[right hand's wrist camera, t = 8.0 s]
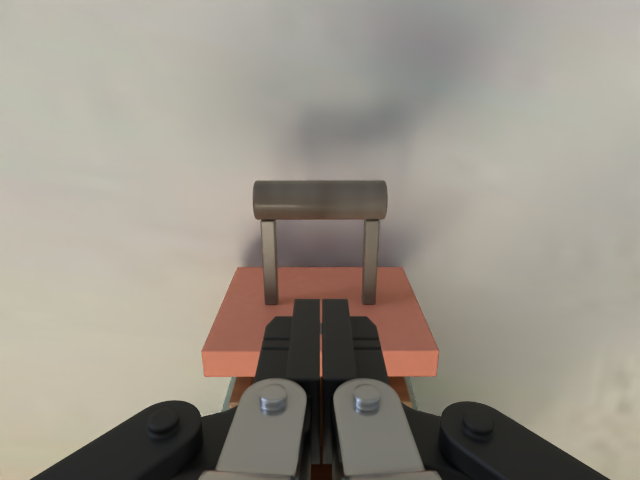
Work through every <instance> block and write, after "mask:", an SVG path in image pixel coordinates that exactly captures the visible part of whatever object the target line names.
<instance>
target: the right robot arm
mask: <svg viewBox="0 0 640 480" xmlns="http://www.w3.org/2000/svg"><path fill="white" fill-rule="evenodd" d="M322 413H323V464H332V480H610V479H608V478H607V477H605V476H603V475H602V474H600V473H599V472H597V471H595V470H594V469H592V468H590V467H589V466H587V465H586V464H584V463H582V462H581V461H579V460H577V459H576V458H574V457H572V456H571V455H569V454H568V453H566V452H564V451H563V450H561V449H559V448H558V447H556V446H555V445H553V444H551V443H550V442H548V441H546V440H545V439H543V438H542V437H540V436H538V435H537V434H535V433H533V432H532V431H530V430H528V429H527V428H525V427H524V426H522V425H520V424H519V423H517V422H515V421H514V420H512V419H511V418H509V417H507V416H506V415H504V414H502V413H501V412H499V411H497V410H496V409H494V408H492V407H490V406H487V405H484V404H481V403H476V402H468V401H467V402H457V403H454V404H451V405H450V406H448V407H447V408H446V409H445V410H444V411H443V412H442V415H441V417H440V416H436V415H432V414H428V413H424V412H420V411H417V410H415V409H412V408H410V407H408V406H406V405H405V404H403V403H402V402H401V401H400V398H399V396H398V394H397V393H396V391H395V390H394V389H393V388H392V387H390V384H389V379H388V375H387V370H386V366H385V362H384V357H383V353H382V350H381V344H380V340H379V335H378V331H377V326H376V325H375V324H374V323H373V322H372V321H371V320H370V319H369V318H368V317H367V316H350V313H349V305H348V299H322ZM311 464H320V299H294V308H293V316H275V317H274V318H273V319H272V320H271V321H270V322H269V324H268V325H267V326H266V328H265V332H264V337H263V342H262V346H261V351H260V355H259V360H258V365H257V369H256V374H255V378H254V383H253V385H251V386H250V387H248V388H247V389H246V390H245V391H244V393H243V394H242V396H241V398H240V401H239V404H238V405H237V406H235V407H233V408H231V409H229V410H226V411H223V412H220V413H216V414H212V415H208V416H204V417H201V415H200V412H199V411H198V409H197V408H196V407H195V406H194V405H192V404H190V403H188V402H184V401H175V400H174V401H165V402H161V403H157V404H154V405H152V406H150V407H148V408H146V409H144V410H142V411H141V412H139V413H138V414H136V415H134V416H133V417H131V418H129V419H128V420H126V421H125V422H123V423H121V424H120V425H118V426H116V427H115V428H113V429H112V430H110V431H108V432H107V433H105V434H103V435H102V436H100V437H99V438H97V439H95V440H94V441H92V442H90V443H89V444H87V445H85V446H84V447H82V448H81V449H79V450H77V451H76V452H74V453H72V454H71V455H69V456H68V457H66V458H64V459H63V460H61V461H59V462H58V463H56V464H55V465H53V466H51V467H50V468H48V469H46V470H45V471H43V472H41V473H40V474H38V475H37V476H35V477H33V478H32V479H30V480H311Z"/></svg>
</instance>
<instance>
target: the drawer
mask: <svg viewBox="0 0 640 480" xmlns="http://www.w3.org/2000/svg"><path fill="white" fill-rule="evenodd" d="M253 211H254V216H255V218H256V219H257V220H261V240H262V260H263V267H238V268H237V270H236V272H235V274H234V277H233V279H232V281H231V284H230V286H229V288H228V291H227V293H226V295H225V298H224V300H223V302H222V305H221V307H220V309H219V312H218V314H217V316H216V319H215V321H214V323H213V326H212V328H211V330H210V333H209V335H208V337H207V340H206V342H205V344H204V347H203V349H202V351H201V352H202V361H203V369H204V376H205V377H236V378H235V381H234V385H233V389H232V392H231V396H230V399H229V409H231V408H233V407H235V406H237V405H238V404H239V401H240V398H241V396H242V394H243V393H244V391H245V390H246V389H247V388H248V387H250V386H251V385H253V383H254V378H255V374H256V369H257V365H258V360H259V355H260V351H261V346H262V342H263V337H264V332H265V328H266V326H267V325H268V324H269V322H270V321H271V320H272V319H273V318H274V317H275V316H293V308H294V299H320V464H311V480H332V464H323V413H322V299H348V305H349V313H350V316H367V317H368V318H369V319H370V320H371V321H372V322H373V323H374V324H375V325H376V326H377V331H378V335H379V340H380V344H381V350H382V353H383V357H384V362H385V366H386V370H387V375H388V379H389V384H390V387H392V388H393V389H394V390H395V391H396V393H397V394H398V396H399V398H400V401H401V402H402V403H403V404H405V405H406V406H408V407H410V408H412V400H411V397H410V393H409V390H408V386H407V383H406V379H405V376H436V375H437V366H438V357H439V349H438V347H437V345H436V343H435V340H434V338H433V336H432V333H431V331H430V329H429V327H428V324H427V322H426V320H425V317H424V315H423V313H422V311H421V308H420V306H419V304H418V301H417V299H416V297H415V295H414V292H413V290H412V288H411V285H410V283H409V281H408V279H407V276H406V274H405V272H404V269H403V267H377V265H378V245H379V224H380V222H379V219H385V216H386V212H387V186H386V182H385V181H255V183H254V187H253ZM347 219H364V241H363V267H278V262H277V236H276V220H347Z"/></svg>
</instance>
